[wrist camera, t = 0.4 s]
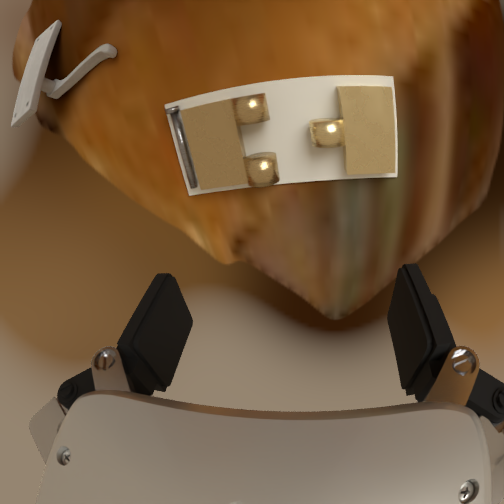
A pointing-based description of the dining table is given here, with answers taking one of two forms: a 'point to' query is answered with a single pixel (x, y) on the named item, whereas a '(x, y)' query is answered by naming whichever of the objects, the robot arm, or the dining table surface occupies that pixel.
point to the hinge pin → (182, 145)
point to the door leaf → (360, 129)
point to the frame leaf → (228, 143)
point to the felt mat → (290, 126)
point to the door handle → (37, 68)
